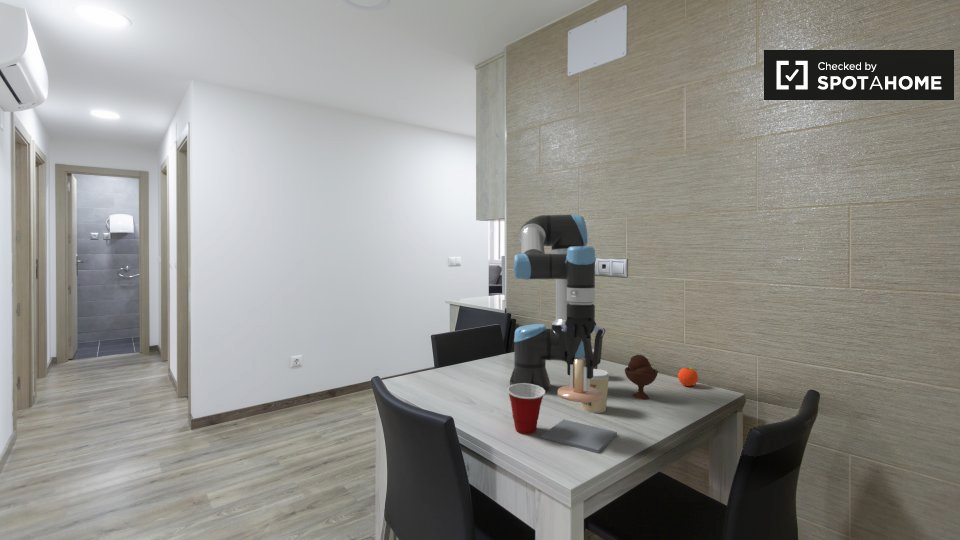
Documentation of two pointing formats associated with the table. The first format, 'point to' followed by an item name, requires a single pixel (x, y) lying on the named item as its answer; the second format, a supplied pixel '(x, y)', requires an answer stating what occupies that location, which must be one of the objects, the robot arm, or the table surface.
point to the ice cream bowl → (640, 374)
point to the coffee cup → (600, 383)
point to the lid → (579, 386)
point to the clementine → (688, 376)
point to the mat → (580, 435)
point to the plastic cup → (525, 406)
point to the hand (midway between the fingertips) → (580, 388)
